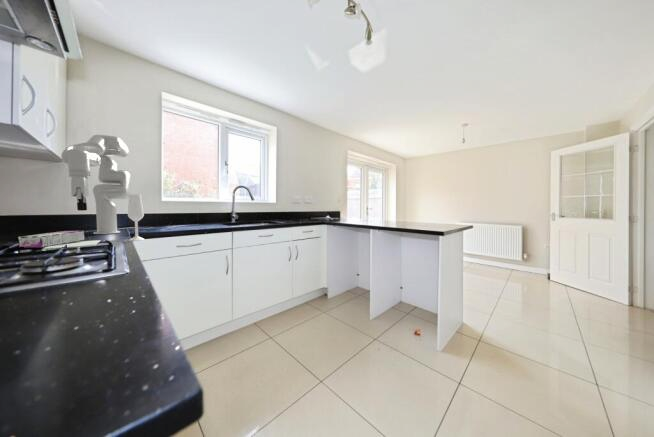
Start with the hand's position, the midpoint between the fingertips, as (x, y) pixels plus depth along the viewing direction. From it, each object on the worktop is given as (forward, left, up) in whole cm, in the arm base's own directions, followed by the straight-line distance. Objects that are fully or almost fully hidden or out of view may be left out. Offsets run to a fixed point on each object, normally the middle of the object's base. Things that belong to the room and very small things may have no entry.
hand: (82, 210), depth 120 cm
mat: (+18, 0, -16) cm, 24 cm away
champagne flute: (+13, +22, -16) cm, 30 cm away
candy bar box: (+7, -2, -12) cm, 14 cm away
